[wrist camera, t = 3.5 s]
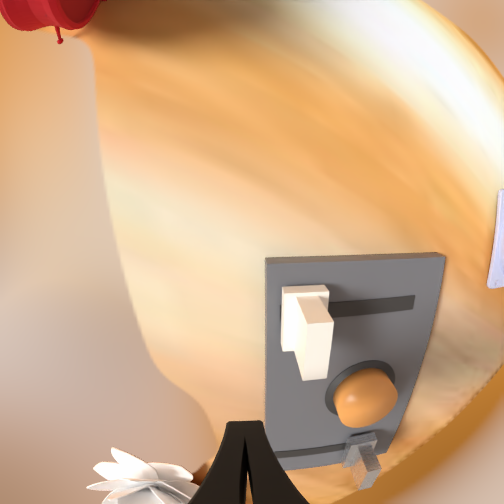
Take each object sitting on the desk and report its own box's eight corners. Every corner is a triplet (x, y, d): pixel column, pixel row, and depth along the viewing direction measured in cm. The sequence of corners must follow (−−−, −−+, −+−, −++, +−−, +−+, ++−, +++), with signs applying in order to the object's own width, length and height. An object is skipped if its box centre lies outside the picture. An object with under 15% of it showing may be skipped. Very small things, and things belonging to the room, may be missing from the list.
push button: (394, 363, 18) (404, 378, 17) (381, 406, 19) (389, 421, 18) (337, 372, 18) (345, 388, 16) (329, 415, 19) (334, 432, 18)
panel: (435, 252, 18) (446, 257, 16) (382, 444, 23) (386, 453, 21) (265, 257, 17) (266, 264, 16) (264, 462, 22) (264, 472, 21)
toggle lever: (324, 284, 16) (347, 316, 12) (319, 339, 17) (337, 379, 13) (281, 286, 16) (293, 320, 12) (280, 342, 17) (290, 384, 13)
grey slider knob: (373, 432, 20) (389, 465, 16) (364, 455, 21) (376, 486, 17) (348, 437, 20) (360, 472, 16) (340, 460, 21) (350, 493, 17)
